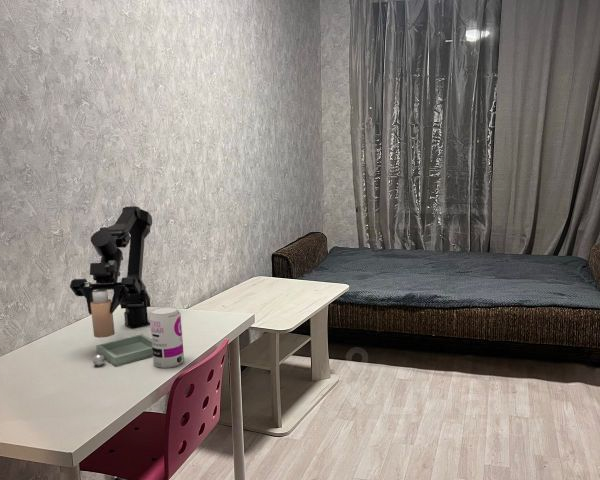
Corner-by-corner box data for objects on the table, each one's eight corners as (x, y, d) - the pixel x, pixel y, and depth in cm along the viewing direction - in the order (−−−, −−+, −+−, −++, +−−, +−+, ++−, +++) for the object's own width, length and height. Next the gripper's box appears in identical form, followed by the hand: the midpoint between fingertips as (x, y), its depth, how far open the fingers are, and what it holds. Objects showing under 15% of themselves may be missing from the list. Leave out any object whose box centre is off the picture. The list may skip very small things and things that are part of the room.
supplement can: (187, 357, 170) (183, 305, 168) (179, 368, 162) (174, 314, 159) (159, 357, 171) (155, 306, 168) (149, 369, 163) (144, 314, 160)
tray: (142, 342, 185) (142, 334, 184) (163, 353, 174) (162, 345, 174) (97, 353, 176) (96, 345, 176) (115, 366, 166) (114, 357, 165)
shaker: (105, 329, 176) (101, 287, 174) (118, 332, 173) (114, 290, 171) (89, 335, 171) (84, 292, 169) (103, 338, 168) (98, 295, 166)
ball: (102, 362, 169) (101, 351, 169) (107, 365, 167) (106, 354, 166) (91, 365, 167) (90, 354, 167) (95, 368, 165) (94, 357, 164)
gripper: (68, 251, 172) (56, 300, 163) (133, 249, 171) (125, 298, 163) (82, 272, 181) (71, 319, 173) (144, 270, 181) (136, 317, 172)
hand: (100, 313), depth 170 cm, fingers closed on shaker, 6 cm apart
